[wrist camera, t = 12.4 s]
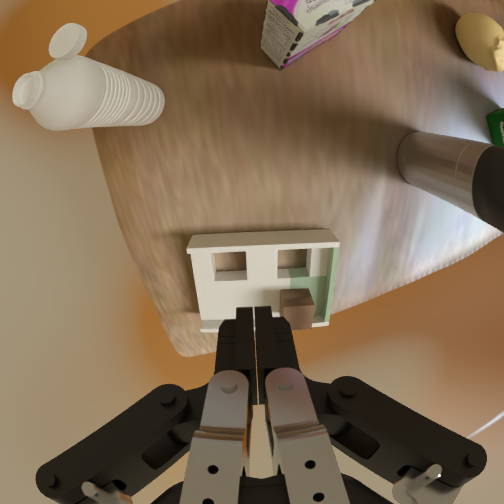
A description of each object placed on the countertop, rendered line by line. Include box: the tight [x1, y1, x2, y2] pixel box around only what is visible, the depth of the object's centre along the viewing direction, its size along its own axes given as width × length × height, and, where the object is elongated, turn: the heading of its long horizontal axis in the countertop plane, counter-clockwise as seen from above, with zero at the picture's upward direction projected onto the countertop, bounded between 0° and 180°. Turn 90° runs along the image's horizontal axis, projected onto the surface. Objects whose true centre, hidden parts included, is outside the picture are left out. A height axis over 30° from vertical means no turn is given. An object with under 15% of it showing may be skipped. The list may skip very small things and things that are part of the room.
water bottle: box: [12, 23, 165, 131], centre depth 21 cm, size 9×6×25 cm
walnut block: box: [279, 288, 315, 330], centre depth 41 cm, size 4×4×4 cm
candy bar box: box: [260, 0, 375, 70], centre depth 21 cm, size 11×5×16 cm, turn 131°
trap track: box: [186, 229, 340, 332], centre depth 42 cm, size 21×15×5 cm
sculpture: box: [455, 13, 504, 72], centre depth 20 cm, size 12×12×11 cm
